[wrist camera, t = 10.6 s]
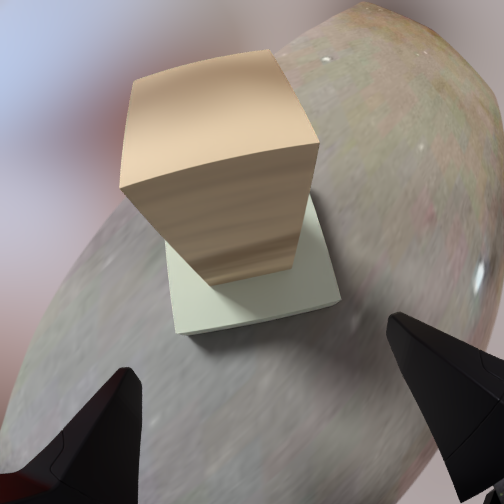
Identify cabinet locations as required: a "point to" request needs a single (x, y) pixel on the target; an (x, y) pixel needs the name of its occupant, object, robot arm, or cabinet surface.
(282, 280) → the base plate
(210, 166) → the pine block
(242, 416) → the cabinet surface
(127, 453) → the robot arm
